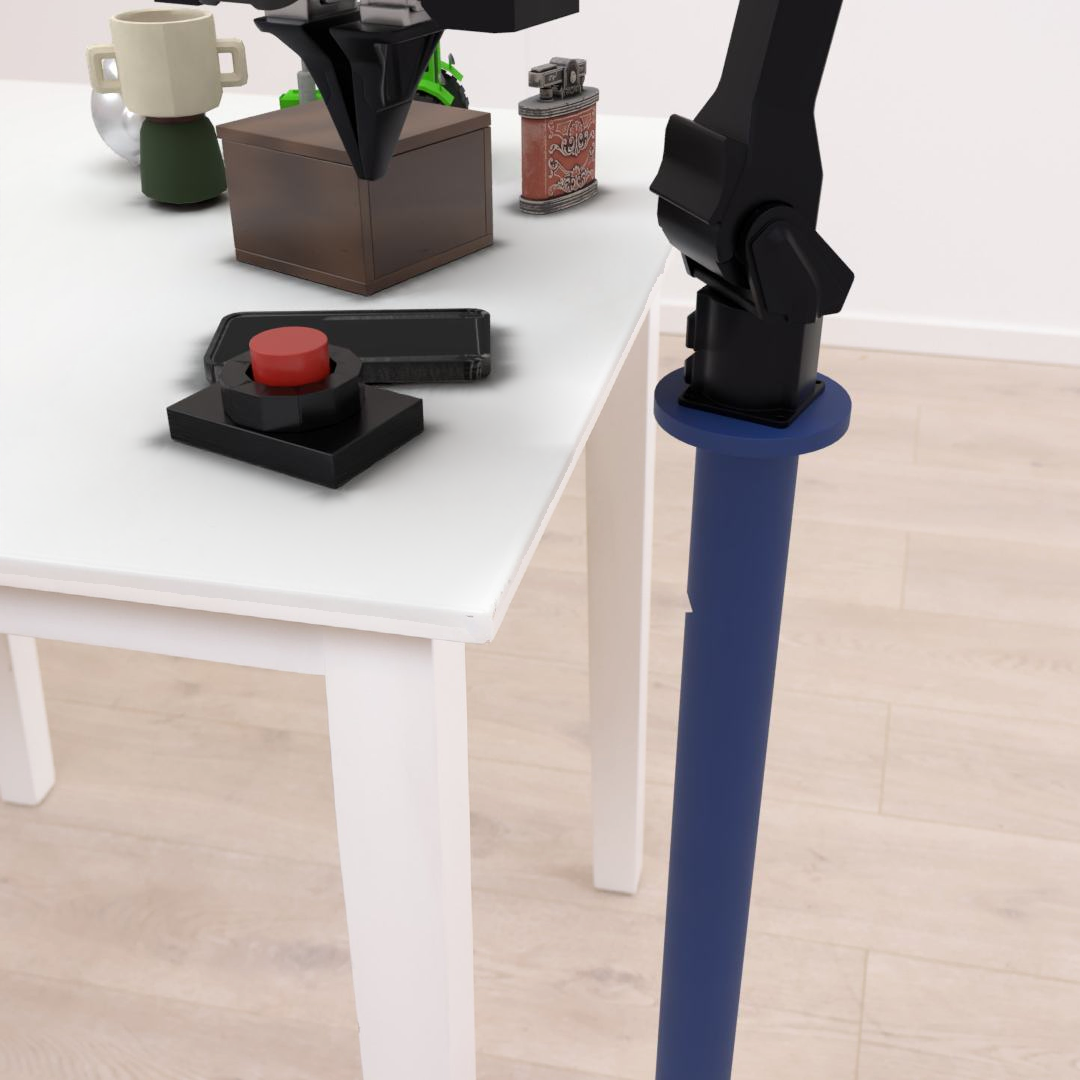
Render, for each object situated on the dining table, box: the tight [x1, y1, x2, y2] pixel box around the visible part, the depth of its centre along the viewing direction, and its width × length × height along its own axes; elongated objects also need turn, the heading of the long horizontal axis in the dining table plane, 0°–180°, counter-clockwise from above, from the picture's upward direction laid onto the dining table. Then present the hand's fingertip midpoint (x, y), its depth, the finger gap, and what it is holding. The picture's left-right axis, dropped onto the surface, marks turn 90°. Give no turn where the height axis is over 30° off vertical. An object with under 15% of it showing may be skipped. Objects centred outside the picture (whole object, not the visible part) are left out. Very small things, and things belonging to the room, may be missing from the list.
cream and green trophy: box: [85, 7, 249, 205], centre depth 94 cm, size 11×7×13 cm, turn 105°
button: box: [249, 327, 331, 386], centre depth 61 cm, size 4×4×2 cm
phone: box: [203, 307, 492, 385], centre depth 71 cm, size 8×1×15 cm
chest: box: [221, 125, 494, 297], centre depth 85 cm, size 12×13×8 cm
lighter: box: [517, 56, 600, 215], centre depth 95 cm, size 8×3×10 cm, turn 145°
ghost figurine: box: [90, 58, 207, 166], centre depth 104 cm, size 9×10×10 cm
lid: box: [215, 99, 492, 165], centre depth 83 cm, size 12×13×1 cm
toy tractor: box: [278, 40, 470, 110], centre depth 103 cm, size 11×16×10 cm
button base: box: [165, 344, 425, 489], centre depth 62 cm, size 10×7×4 cm
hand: (371, 178), depth 59 cm, fingers closed
